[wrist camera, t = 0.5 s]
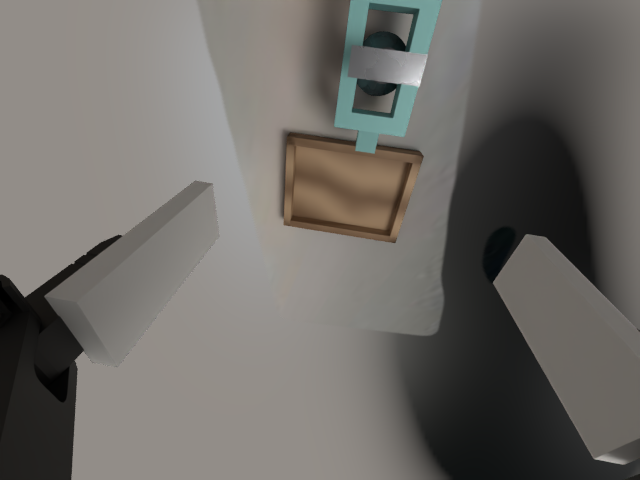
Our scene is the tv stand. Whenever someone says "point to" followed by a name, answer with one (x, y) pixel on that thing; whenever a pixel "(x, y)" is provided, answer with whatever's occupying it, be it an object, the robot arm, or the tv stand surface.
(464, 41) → the tv stand surface
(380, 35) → the mallet
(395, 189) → the tray
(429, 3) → the teal rectangular frame
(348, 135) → the tv stand surface
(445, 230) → the tv stand surface
